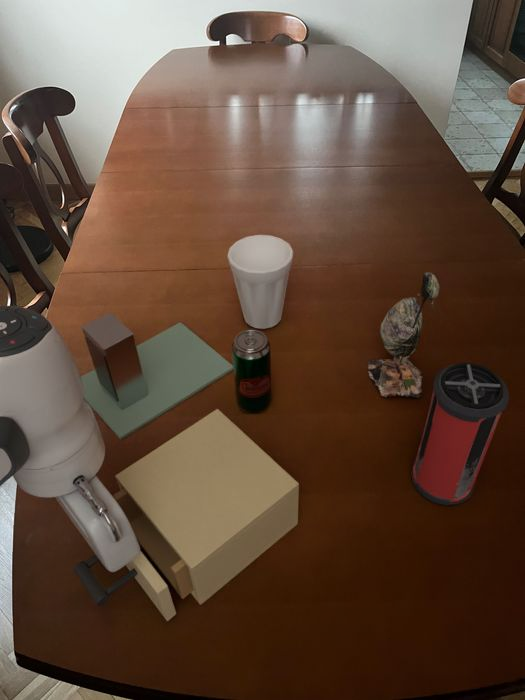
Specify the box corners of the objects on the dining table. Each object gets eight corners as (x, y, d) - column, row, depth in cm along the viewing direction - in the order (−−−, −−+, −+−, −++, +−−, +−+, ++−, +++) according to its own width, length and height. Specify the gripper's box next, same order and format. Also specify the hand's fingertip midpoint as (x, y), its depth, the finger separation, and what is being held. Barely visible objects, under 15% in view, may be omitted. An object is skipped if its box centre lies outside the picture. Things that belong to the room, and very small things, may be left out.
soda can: (240, 418, 83) (234, 357, 74) (233, 391, 86) (228, 331, 78) (275, 411, 83) (274, 350, 75) (267, 385, 87) (265, 325, 79)
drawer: (127, 654, 60) (113, 628, 55) (65, 561, 67) (48, 530, 62) (263, 542, 68) (262, 510, 63) (195, 469, 76) (189, 437, 71)
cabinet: (200, 605, 64) (191, 568, 58) (129, 515, 72) (114, 475, 66) (298, 523, 71) (299, 483, 65) (222, 450, 79) (217, 408, 73)
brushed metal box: (121, 410, 84) (103, 350, 75) (99, 387, 87) (80, 327, 79) (148, 394, 86) (133, 333, 77) (126, 372, 89) (110, 311, 81)
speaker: (408, 453, 78) (431, 355, 65) (468, 457, 77) (503, 359, 64) (413, 504, 72) (439, 408, 60) (477, 509, 71) (518, 413, 59)
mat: (120, 440, 80) (119, 437, 80) (71, 384, 88) (70, 382, 88) (234, 369, 90) (234, 366, 89) (180, 324, 97) (180, 321, 97)
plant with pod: (421, 350, 91) (445, 241, 78) (423, 405, 83) (450, 294, 70) (368, 345, 93) (382, 236, 79) (365, 399, 85) (380, 288, 71)
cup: (296, 336, 95) (297, 269, 86) (233, 340, 94) (228, 274, 85) (289, 297, 102) (289, 232, 93) (231, 300, 101) (226, 236, 92)
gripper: (142, 499, 52) (164, 570, 62) (38, 376, 64) (71, 452, 73) (78, 544, 49) (112, 611, 59) (-18, 406, 61) (24, 482, 70)
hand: (89, 522), depth 66 cm, fingers closed, pressing on drawer
